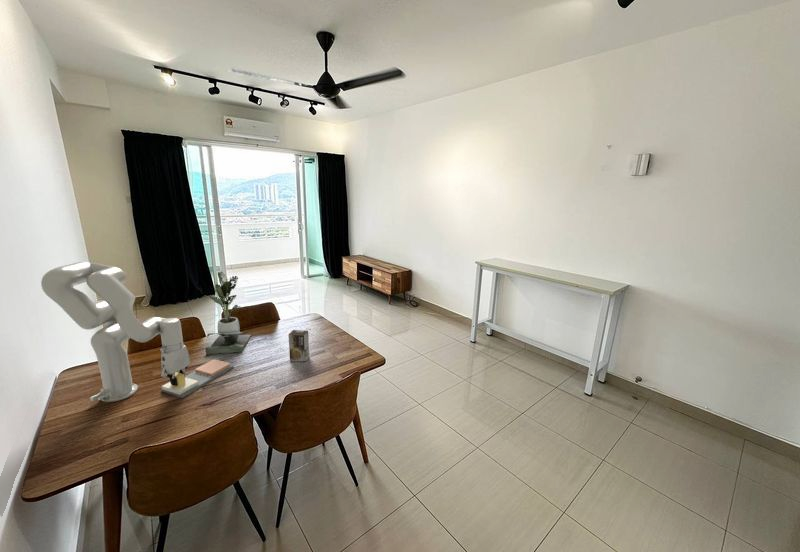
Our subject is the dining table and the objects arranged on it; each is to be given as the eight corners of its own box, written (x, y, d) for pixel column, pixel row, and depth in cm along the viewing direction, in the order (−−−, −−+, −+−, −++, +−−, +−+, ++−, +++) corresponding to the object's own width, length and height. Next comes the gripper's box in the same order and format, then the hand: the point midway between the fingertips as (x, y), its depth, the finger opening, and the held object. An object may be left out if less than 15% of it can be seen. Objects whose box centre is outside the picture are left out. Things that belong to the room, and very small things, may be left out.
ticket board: (182, 397, 139) (181, 392, 138) (161, 391, 143) (160, 385, 142) (233, 367, 165) (233, 362, 164) (214, 362, 169) (214, 357, 168)
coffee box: (309, 357, 179) (308, 330, 175) (305, 362, 173) (304, 335, 169) (294, 355, 180) (293, 329, 176) (289, 361, 174) (288, 334, 170)
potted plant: (242, 352, 181) (235, 276, 170) (206, 354, 177) (197, 277, 166) (251, 336, 202) (246, 268, 191) (218, 337, 198) (211, 268, 187)
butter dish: (179, 394, 139) (178, 381, 137) (162, 389, 142) (160, 376, 141) (198, 384, 147) (197, 371, 146) (181, 378, 151) (179, 366, 149)
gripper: (160, 355, 130) (166, 394, 135) (196, 340, 146) (200, 375, 150) (147, 352, 133) (153, 390, 137) (184, 337, 148) (188, 372, 152)
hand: (178, 382), depth 143 cm, fingers closed on butter dish, 3 cm apart
